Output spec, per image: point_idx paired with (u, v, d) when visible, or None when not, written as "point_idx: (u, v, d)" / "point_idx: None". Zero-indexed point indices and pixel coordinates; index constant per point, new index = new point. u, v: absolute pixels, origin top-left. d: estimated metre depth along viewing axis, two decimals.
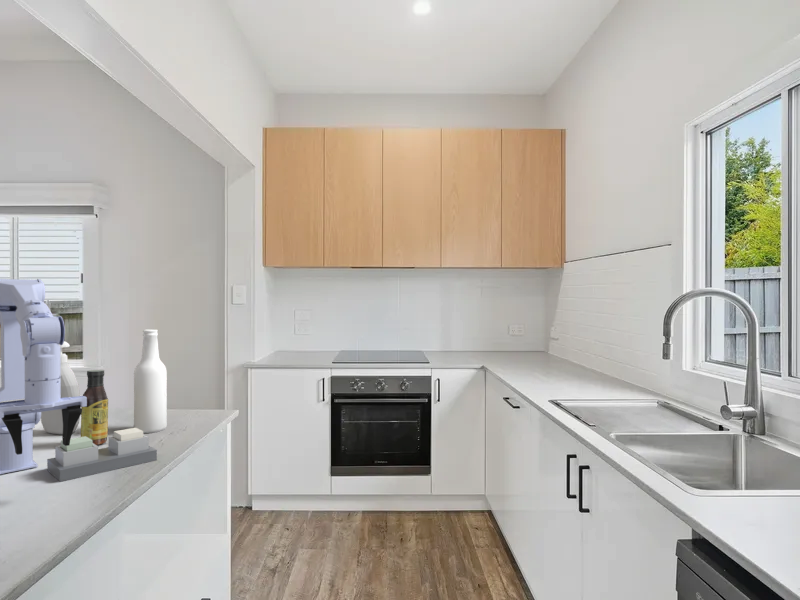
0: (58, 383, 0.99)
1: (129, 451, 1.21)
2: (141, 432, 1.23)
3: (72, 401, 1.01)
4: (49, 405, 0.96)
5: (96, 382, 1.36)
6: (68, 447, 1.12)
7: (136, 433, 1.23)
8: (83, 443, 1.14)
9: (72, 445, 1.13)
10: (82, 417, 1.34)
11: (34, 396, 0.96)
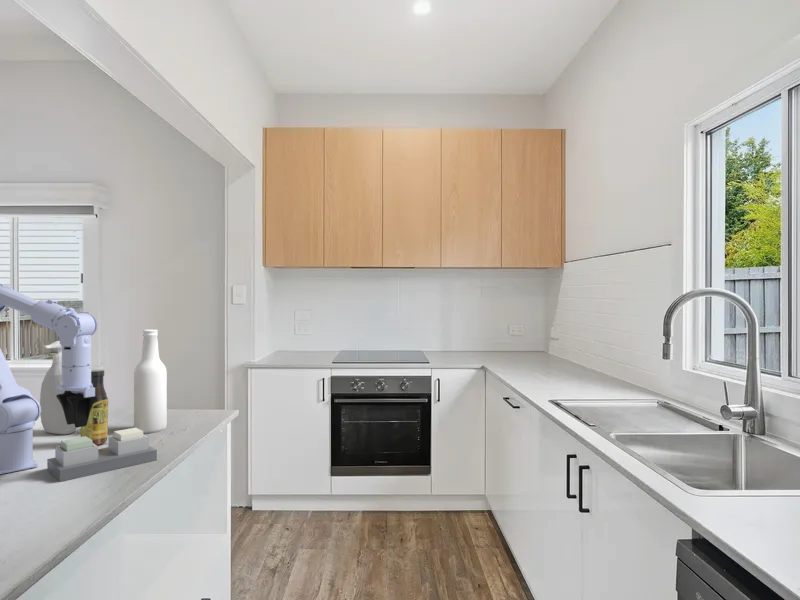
0: (71, 371, 1.13)
1: (129, 451, 1.21)
2: (141, 432, 1.23)
3: (77, 390, 1.12)
4: (56, 388, 1.12)
5: (96, 382, 1.36)
6: (68, 447, 1.12)
7: (136, 433, 1.23)
8: (83, 443, 1.14)
9: (72, 445, 1.13)
10: None
11: None
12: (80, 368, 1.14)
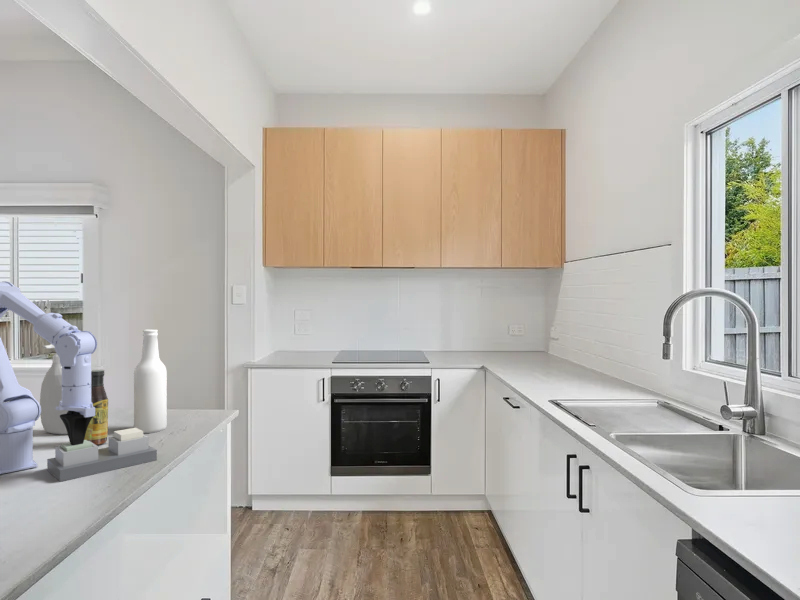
0: (72, 391, 1.13)
1: (129, 451, 1.21)
2: (141, 432, 1.23)
3: (77, 409, 1.12)
4: (57, 408, 1.12)
5: (96, 382, 1.36)
6: None
7: (136, 433, 1.23)
8: (83, 447, 1.14)
9: (72, 449, 1.13)
10: None
11: None
12: (80, 387, 1.14)
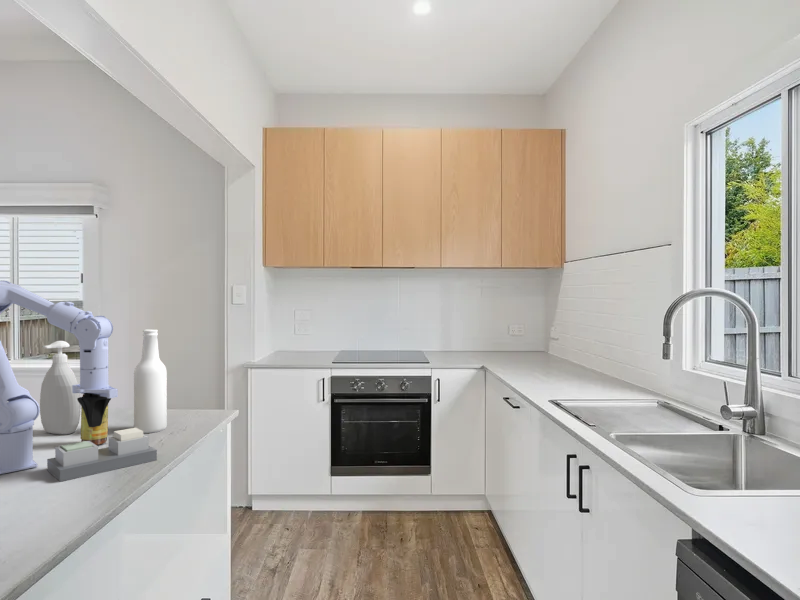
0: (92, 373, 1.16)
1: (129, 451, 1.21)
2: (141, 432, 1.23)
3: (99, 391, 1.15)
4: (77, 390, 1.15)
5: None
6: None
7: (136, 433, 1.23)
8: (83, 448, 1.14)
9: (72, 450, 1.13)
10: (82, 417, 1.34)
11: None
12: (100, 370, 1.17)
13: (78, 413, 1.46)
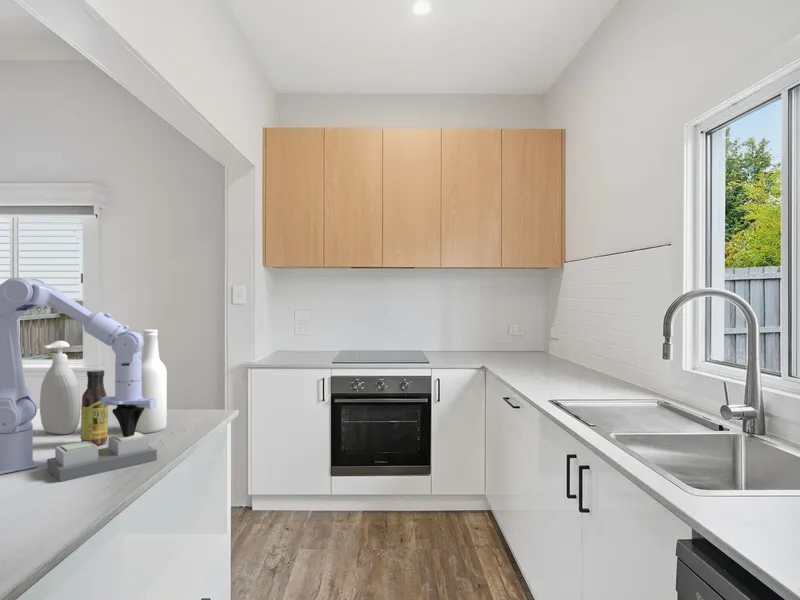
0: (130, 385, 1.21)
1: (129, 451, 1.21)
2: (141, 437, 1.23)
3: (139, 402, 1.21)
4: (116, 402, 1.20)
5: (96, 382, 1.36)
6: None
7: None
8: (83, 448, 1.14)
9: (72, 450, 1.13)
10: (82, 417, 1.34)
11: (115, 393, 1.22)
12: (137, 382, 1.23)
13: (78, 413, 1.46)
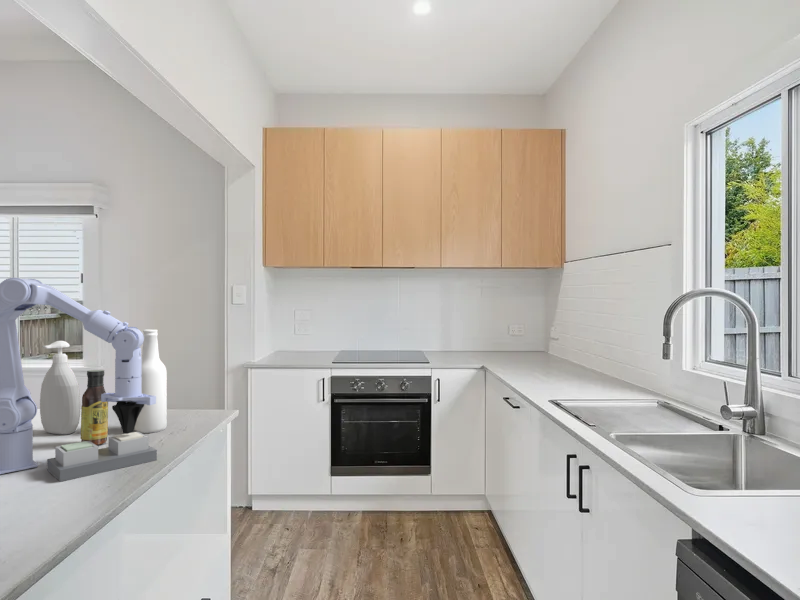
0: (130, 382, 1.21)
1: (129, 451, 1.21)
2: (141, 437, 1.23)
3: (139, 399, 1.21)
4: (115, 399, 1.20)
5: (96, 382, 1.36)
6: None
7: None
8: (83, 448, 1.14)
9: (72, 450, 1.13)
10: (82, 417, 1.34)
11: (115, 389, 1.22)
12: (137, 379, 1.23)
13: (78, 413, 1.46)
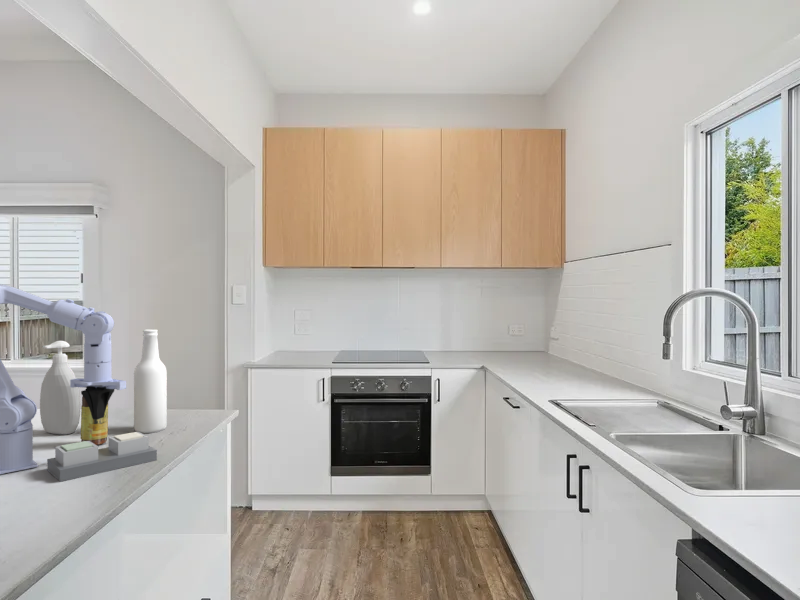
0: (99, 367, 1.20)
1: (129, 451, 1.21)
2: (141, 437, 1.23)
3: (108, 383, 1.20)
4: (84, 383, 1.18)
5: None
6: None
7: None
8: (83, 448, 1.14)
9: (72, 450, 1.13)
10: (82, 417, 1.34)
11: (84, 374, 1.21)
12: (106, 364, 1.21)
13: (78, 413, 1.46)
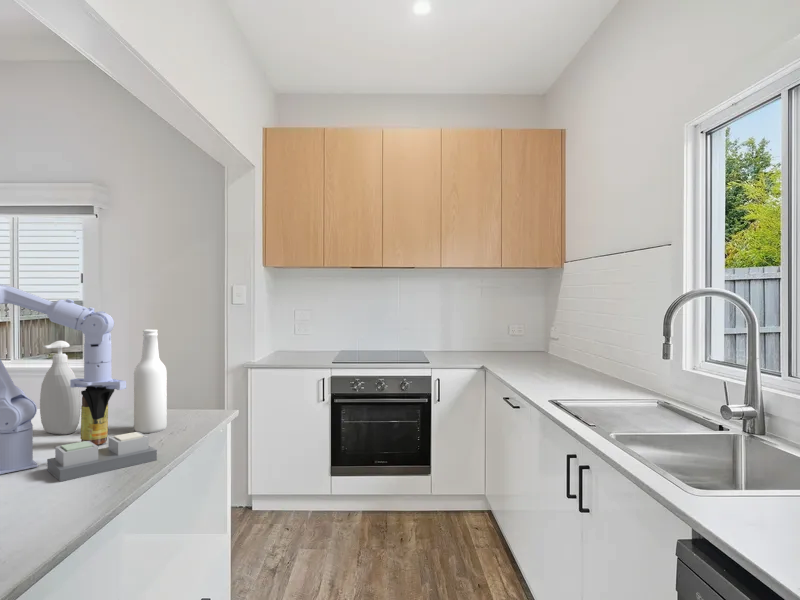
0: (99, 367, 1.20)
1: (129, 451, 1.21)
2: (141, 437, 1.23)
3: (108, 383, 1.20)
4: (84, 383, 1.18)
5: None
6: None
7: None
8: (83, 448, 1.14)
9: (72, 450, 1.13)
10: (82, 417, 1.34)
11: (84, 374, 1.21)
12: (106, 364, 1.21)
13: (78, 413, 1.46)
